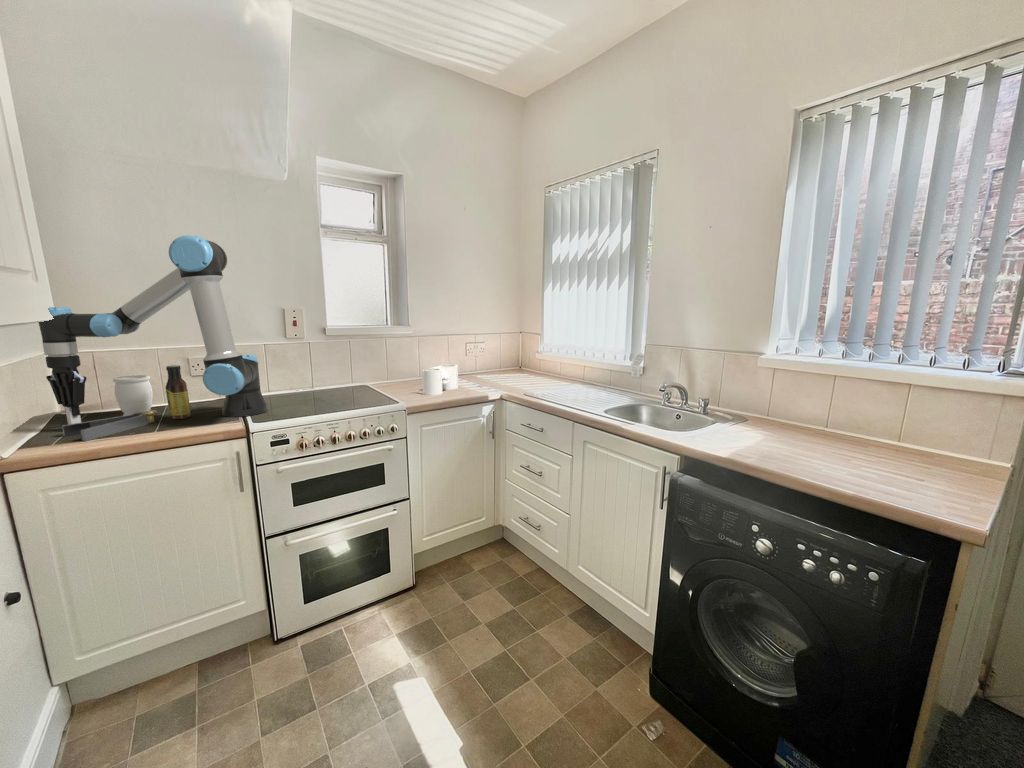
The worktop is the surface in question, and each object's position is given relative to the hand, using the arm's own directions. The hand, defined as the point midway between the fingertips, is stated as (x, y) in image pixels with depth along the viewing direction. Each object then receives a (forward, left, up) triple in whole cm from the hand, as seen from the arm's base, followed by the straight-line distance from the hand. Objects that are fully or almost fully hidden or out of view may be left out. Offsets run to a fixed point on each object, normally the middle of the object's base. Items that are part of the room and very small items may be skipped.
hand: (75, 424), depth 139 cm
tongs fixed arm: (-15, -3, -2) cm, 15 cm away
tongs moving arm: (-10, -4, -2) cm, 11 cm away
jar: (-1, -19, -2) cm, 19 cm away
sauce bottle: (-19, -20, -2) cm, 28 cm away
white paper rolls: (-98, -90, -2) cm, 133 cm away
